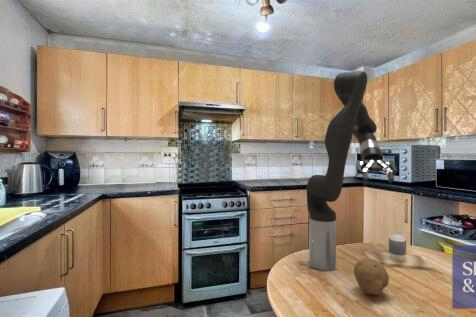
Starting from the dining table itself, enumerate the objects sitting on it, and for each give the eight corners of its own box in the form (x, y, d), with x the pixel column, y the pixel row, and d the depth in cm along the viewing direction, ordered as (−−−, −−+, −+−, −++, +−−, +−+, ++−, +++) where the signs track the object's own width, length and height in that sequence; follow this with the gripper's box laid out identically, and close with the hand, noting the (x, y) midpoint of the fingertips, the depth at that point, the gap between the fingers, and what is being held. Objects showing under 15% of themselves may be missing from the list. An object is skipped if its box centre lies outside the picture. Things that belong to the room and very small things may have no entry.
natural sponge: (368, 282, 78) (368, 251, 78) (396, 297, 70) (396, 262, 70) (347, 288, 74) (347, 256, 74) (373, 305, 66) (374, 268, 66)
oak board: (372, 264, 91) (372, 262, 91) (364, 253, 102) (364, 251, 102) (434, 270, 86) (434, 267, 86) (419, 258, 97) (419, 255, 97)
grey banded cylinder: (391, 261, 92) (391, 237, 92) (386, 255, 97) (386, 232, 97) (408, 262, 90) (408, 238, 90) (402, 256, 96) (402, 233, 96)
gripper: (354, 146, 106) (361, 174, 95) (391, 146, 102) (402, 175, 91) (351, 158, 111) (357, 186, 100) (386, 158, 108) (397, 187, 96)
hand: (379, 181), depth 96 cm, fingers open, 8 cm apart
